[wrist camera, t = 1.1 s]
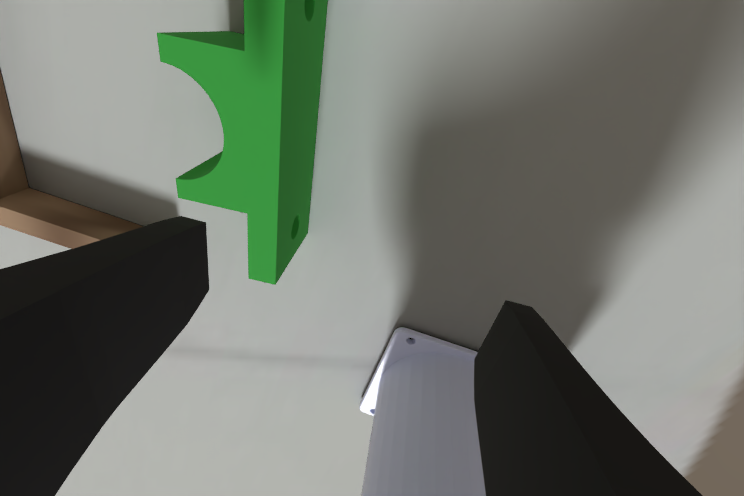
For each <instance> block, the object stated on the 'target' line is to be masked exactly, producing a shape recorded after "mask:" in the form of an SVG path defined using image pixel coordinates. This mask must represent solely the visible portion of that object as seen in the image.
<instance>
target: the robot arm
mask: <svg viewBox="0 0 744 496" xmlns="http://www.w3.org/2000/svg"><path fill="white" fill-rule="evenodd" d="M208 290H209V277H208V257H207V236H206V222H202V221H198V220H194V219H190V218H186V217H182V216H179V217H175V218H171V219H167V220H163V221H160V222H156V223H153V224H150V225H147V226H143V227H140V228H137V229H134V230H131V231H128V232H125V233H121V234H118V235H115V236H112V237H109V238H106V239H102V240H99V241H96V242H93V243H90V244H87V245H83V246H80V247H77V248H74V249H70V250H67V251H63V252H60V253H56V254H53V255H49V256H46V257H42V258H39V259H35V260H32V261H28V262H25V263H21V264H18V265H14V266H11V267H7V268H3V269H0V496H55V495H56V493H57V492H58V490H59V489H60V487H61V486H62V484H63V483H64V481H65V480H66V478H67V477H68V475H69V474H70V472H71V471H72V469H73V468H74V466H75V465H76V463H77V462H78V461H79V459H80V458H81V456H82V455H83V453H84V452H85V451H86V449H87V448H88V446H89V445H90V443H91V442H92V441H93V439H94V438H95V436H96V435H97V433H98V432H99V431H100V429H101V428H102V426H103V425H104V424H105V422H106V421H107V420H108V419H109V417H110V416H111V415H112V413H113V412H114V411H115V410H116V408H117V407H118V406H119V405H120V403H121V402H122V401H123V400H124V399H125V397H126V396H127V395H128V394H129V393H130V392H131V390H132V389H133V388H134V387H135V386H136V385H137V383H138V382H139V381H140V380H141V379H142V377H143V376H144V375H145V374H146V373H147V372H148V370H149V369H150V368H151V367H152V366H153V364H154V363H155V362H156V361H157V360H158V359H159V357H160V356H161V355H162V354H163V353H164V351H165V350H166V349H167V348H168V347H169V345H170V344H171V343H172V342H173V341H174V339H175V338H176V337H177V336H178V335H179V333H180V332H181V331H182V330H183V329H184V327H185V326H186V325H187V324H188V322H189V321H190V319H191V317H192V316H193V314H194V313H195V311H196V310H197V308H198V307H199V305H200V303H201V302H202V300H203V299H204V297H205V295H206V294H207V292H208ZM408 338H413V339H408ZM359 408H360V410H361V411H362V412H364V413H367V414H370V415H373V416H374V419H373V425H372V431H371V437H370V444H369V450H368V456H367V463H366V469H365V475H364V482H363V488H362V494H361V496H702V495H701V494H700V493H699V492H698V491H697V490H696V489H695V488H694V487H693V486H692V485H691V484H690V483H689V482H688V481H687V480H686V479H685V478H684V477H683V476H682V475H681V474H680V473H679V472H678V471H677V470H676V469H675V468H674V467H673V466H672V465H671V464H670V463H669V462H668V461H667V460H666V459H665V458H664V457H663V456H662V455H661V454H660V453H659V452H658V451H657V450H656V449H655V448H654V447H653V446H652V445H651V444H650V443H649V441H648V440H647V439H646V438H645V437H644V436H643V435H642V434H641V433H640V432H639V431H638V430H637V428H636V427H635V426H634V425H633V424H632V423H631V422H630V421H629V420H628V419H627V418H626V416H625V415H624V414H623V413H622V412H621V411H620V410H619V409H618V408H617V407H616V405H615V404H614V403H613V402H612V401H611V400H610V399H609V397H608V396H607V395H606V394H605V393H604V392H603V391H602V389H601V388H600V387H599V386H598V385H597V384H596V382H595V381H594V380H593V379H592V378H591V376H590V375H589V374H588V373H587V372H586V371H585V369H584V368H583V367H582V366H581V365H580V363H579V362H578V361H577V360H576V359H575V357H574V356H573V355H572V354H571V352H570V351H569V350H568V349H567V348H566V346H565V345H564V344H563V343H562V342H561V340H560V339H559V338H558V337H557V335H556V334H555V333H554V332H553V331H552V329H551V328H550V327H549V326H548V325H547V323H546V322H545V321H544V320H543V319H542V318H541V316H540V315H539V314H538V313H537V312H536V311H535V310H534V309H533V308H532V307H530V306H526V305H522V304H518V303H514V302H510V301H505V303H504V305H503V307H502V308H501V310H500V312H499V314H498V316H497V318H496V320H495V322H494V323H493V325H492V327H491V329H490V331H489V333H488V335H487V336H486V338H485V340H484V342H483V344H482V346H481V348H480V349H479V351H478V352H476V351H473V350H470V349H467V348H464V347H461V346H458V345H456V344H453V343H450V342H447V341H444V340H441V339H438V338H435V337H432V336H429V335H426V334H423V333H420V332H417V331H414V330H411V329H408V328H404V327H400V328H397V329H396V330H395V331H394V333H393V335H392V337H391V339H390V341H389V343H388V345H387V348H386V350H385V352H384V354H383V356H382V358H381V360H380V362H379V364H378V366H377V369H376V371H375V373H374V375H373V377H372V379H371V381H370V383H369V385H368V387H367V389H366V392H365V394H364V396H363V398H362V400H361V402H360V407H359Z"/></svg>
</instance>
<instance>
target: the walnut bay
mask: <svg viewBox="0 0 744 496" xmlns="http://www.w3.org/2000/svg"><path fill="white" fill-rule="evenodd" d="M0 225H2V226H5V227H8V228H11V229H14V230H17V231H20V232H23V233H26V234H29V235H32V236H35V237H38V238H41V239H44V240H47V241H50V242H53V243H56V244H59V245H62V246H65V247H68V248H71V249H74V248H77V247H80V246H83V245H87V244H90V243H93V242H96V241H99V240H102V239H106V238H109V237H112V236H115V235H118V234H121V233H125V232H128V231H131V230H134V229H137V228H140V227H143V226H141V225H138V224H135V223H132V222H129V221H126V220H123V219H120V218H117V217H114V216H112V215H109V214H106V213H103V212H100V211H97V210H94V209H91V208H88V207H85V206H82V205H79V204H76V203H73V202H70V201H67V200H64V199H61V198H58V197H55V196H52V195H49V194H46V193H43V192H40V191H37V190H34V189H31V188H29V187H28V182H27V178H26V174H25V170H24V166H23V162H22V158H21V154H20V150H19V146H18V142H17V137H16V133H15V129H14V125H13V121H12V117H11V113H10V109H9V105H8V101H7V97H6V93H5V88H4V84H3V80H2V76H1V72H0Z"/></svg>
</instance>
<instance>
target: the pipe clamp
mask: <svg viewBox="0 0 744 496" xmlns="http://www.w3.org/2000/svg"><path fill="white" fill-rule="evenodd" d="M327 3H328V0H244V34H241V33H236V32H231V31H219V32H172V33H157V38H158V45H159V53H160V61H161V62H164V63H167V64H170V65H173V66H175V67H177V68H179V69H181V70H182V71H184V72H185V73H187V74H188V75H189V76H191V77H192V78H193V79H194V80H195V81H196V82H197V83H198V84H199V85H200V86H201V87H202V88H203V89H204V90H205V91H206V93H207V94H208V95H209V97H210V98H211V100H212V102H213V103H214V105H215V107H216V109H217V111H218V114H219V116H220V119H221V122H222V126H223V132H224V147H223V151H222V152H221V153H219V154H217V155H215V156H214V157H212V158H210V159H209V160H207V161H205V162H203V163H202V164H200V165H198V166H197V167H195V168H193V169H191V170H190V171H188V172H186V173H184V174H183V175H181V176H179V177H178V178H176V184H177V192H178V198H182V199H186V200H191V201H195V202H200V203H204V204H208V205H213V206H217V207H222V208H226V209H230V210H235V211H239V212H244V213H247V214H248V270H249V279H253V280H258V281H262V282H266V283H270V284H276V283H277V281H278V280H279V278H280V276H281V275H282V273H283V272H284V270H285V268H286V267H287V265H288V264H289V262H290V260H291V259H292V257H293V256H294V254H295V253H296V251H297V249H298V248H299V246H300V245H301V243H302V241H303V240H304V238H305V237H306V235H307V233H308V224H309V213H310V201H311V189H312V178H313V166H314V154H315V143H316V131H317V119H318V108H319V96H320V84H321V73H322V61H323V49H324V38H325V26H326V14H327Z"/></svg>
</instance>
